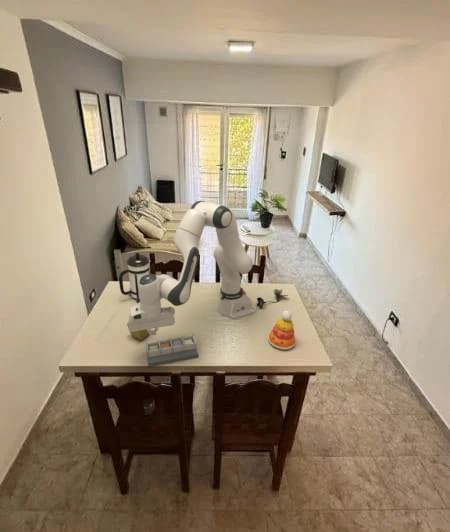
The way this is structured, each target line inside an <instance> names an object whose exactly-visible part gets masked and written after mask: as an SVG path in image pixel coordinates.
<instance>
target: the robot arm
mask: <svg viewBox="0 0 450 532" xmlns="http://www.w3.org/2000/svg"><path fill="white" fill-rule="evenodd" d="M206 227H211V228H214V229H215V232H216V237H217V241H218V245H217V246H216V247H215V248H214V251H213V254H212V255H213V257H214V258H213V259H214V260H215V261H216V263H217V266H218V269H219V273H220V277H221V278H220V279H221V280H220V281H221V282H220V283H221V284H220V290H219V303H218V306H217V311H218V313H219V314H220V315H223V316H225V317H229V318H231V319H238V318H241V317H245V316H248V315H250V314H255V313H256V306H255V305H254V303H253V302H252V300H251V298H250V297H249V295H247V292H246V290H244V289H243V287H241V285H242V284H241V283H242V277H241V274H242V275H247V274H248V273H249V272H250V271H251V270H252V268H253V264H254V263H253V259H252V258H251V257H250V255H249V254H248V253H247V251H246V249H245V248H244V246H243V243H242V241H241V238H240V234H239V229H238V224H237V220H236V216H235V214H234V212H233V209H231V208H229V207H227V206H225V205H221V204H218V203H215V202H210V201H205V200H198V201H197V200H196V201H195V202H194V203H193V204H192V205H191V207H190V209H188V210H186V212H185V214H184V215H183V217H182V218H181V220H180V221H179V224H178V226H177V228H176V231H175V232H174V234H173V235H174V237H173V243H174V246H175V248H176V250H177V251H178V252H179V253H180V255H181V256H182V258H183V266H182V269H181V273H180V276H179V279H178V280H177V279H175V278H174V277H172V276H170V275H168V274H166V273H165V274H164V273H161V274H159V275H157V274H154V273H150V274H147V275H144V276H143V277H141V278H140V280H139V284H138V293H139V299H140V302H139V303H138V304H137V305H135V306H132V307H130V309H129V316H128V322H129V329H128V332H130V331H131V332H134V331H140V330H146V329H147V331H148V332H149V336H150V337H152V336H156V335H157V332H158V331H159V328H164V327H170V326H174V325H175V324H176V321H175V320H176V319H175V314H176V309H175V308H174V307H173V306H175V307H178V306H179V307H180V306H183V305H185V304H186V303H187V302H188V301H189V299H190V296H191V293H192V292H191V290H192V284H193V280H194V277H195V274H196V270H197V267H198V264H199V258H200V250H199V244H200V243H199V242H200V240H201V237H202V235H203V232H204V229H205V228H206ZM162 299H164V300H166V301H168V302H169V303H170V304H171V305H173V306H167V307H166V306H165V307H162V303H161V300H162ZM150 329H151V330H150ZM152 329H153V330H152Z"/></svg>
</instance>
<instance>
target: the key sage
mask: <svg viewBox="0 0 450 532" xmlns="http://www.w3.org/2000/svg"><path fill="white" fill-rule="evenodd" d="M156 349H158V345H155V346H149V350H150V351H151V350H156Z"/></svg>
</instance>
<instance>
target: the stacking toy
mask: <svg viewBox="0 0 450 532" xmlns="http://www.w3.org/2000/svg"><path fill="white" fill-rule="evenodd" d="M292 318H293V314H292V312H291V311H290V310H285V311H283V313H281V317H280V318H278V319H277V320H276V324H274V326H273V328H272V329H271V331H270V332H269V334H268V335H267V340H268V343H269V344H270V345H271V346H273V347H274V348H276V349H278V350H279V349H280V350H283V351H284V350H290V349H292V348H293V347H294V346H295V345H296V343H297V340H296V337H295V329H294V323H293V321H292Z"/></svg>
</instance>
